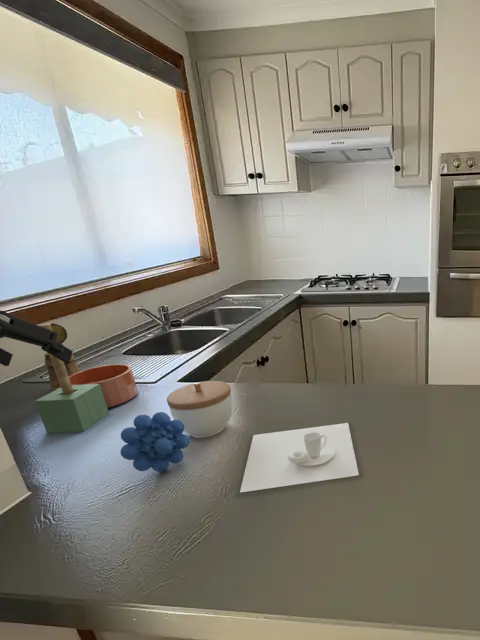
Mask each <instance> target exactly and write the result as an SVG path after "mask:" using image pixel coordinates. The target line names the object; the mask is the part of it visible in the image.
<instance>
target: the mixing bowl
mask: <svg viewBox="0 0 480 640" xmlns="http://www.w3.org/2000/svg"><path fill="white" fill-rule="evenodd" d="M68 377H69V379H70V382H71V385H87V384H100V387H101V390H102V393H103V396H104V399H105V402H106V405H107V409H109V408H113V407H116V406H119V405H121V404H124V403H126V402H128V401H130V400H132V399H133V398H134V397H135V396H137V394H138V393H139V390H138V387H137V383H136V378H135V377H134V373H133V369H132V366H131V365H129V364H126V363H125V364H124V363H123V364H122V363H115V364H114V363H113V364H105V365H99V366H94V367H89V368H87V369H82V370H80V372H77V373H74V374H72V375H70V376H68Z"/></svg>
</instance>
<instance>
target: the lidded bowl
mask: <svg viewBox="0 0 480 640" xmlns="http://www.w3.org/2000/svg"><path fill="white" fill-rule="evenodd" d="M166 403H167V405H168V407H169V410H170V414H171V416H172V419H173V420H179V421H181V422H182V423H183V424H184V431H183V433H186V434H188V435H190V436H191V437H193V438H197V439H204V438H209V437H213V436H216V435H218V434H219V433H221V432H223V431H224V429H225V428H226V425H227V424H228V423H229V421H230V419H231V417H232V413H233V398H232V390H231V385H230V384H229V383H228V382H225V381H222V380H206V381H205V380H204V381H199V382H198V381H197V382H193V383H189V384H187V385H184V386H181V387H178V388H177V389H175V390H173V391H172V392H170V393H169V394H168V396H167V397H166Z"/></svg>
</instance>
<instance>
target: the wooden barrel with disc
mask: <svg viewBox="0 0 480 640" xmlns="http://www.w3.org/2000/svg"><path fill="white" fill-rule="evenodd" d="M49 324H50V325H51V328H52V330H53V331H54V332H56V333H58V337H57V340H56V341H57V342H59V343H61V344H62V345H63V343H64V342H65V341H66V340H67V338H68V332H67V329H66V328H65V327H64V326H62V325H60V324H58V323H54V322H52V323H49ZM44 365H45V366H46V368H47V374H48V379H49V384H50V387H49V388H50V391H51V392H53V391H55V390H57V389H59V388H60V387H61V386H60V383H59V380H58V378H57V375H56V372H55V369H54V366H53V364H52V361H51V358H50V355H49V353H48V352H45V354H44ZM64 365H65V368H66V371H67V374H68V376H70V375H72V374H74V373H77V372H80V371H81V369H80V368H79V365H78V364H77V362H76V360H75V356H74V354H73V353H72V356H71V359H70V362H69V363H65V362H64Z"/></svg>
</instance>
